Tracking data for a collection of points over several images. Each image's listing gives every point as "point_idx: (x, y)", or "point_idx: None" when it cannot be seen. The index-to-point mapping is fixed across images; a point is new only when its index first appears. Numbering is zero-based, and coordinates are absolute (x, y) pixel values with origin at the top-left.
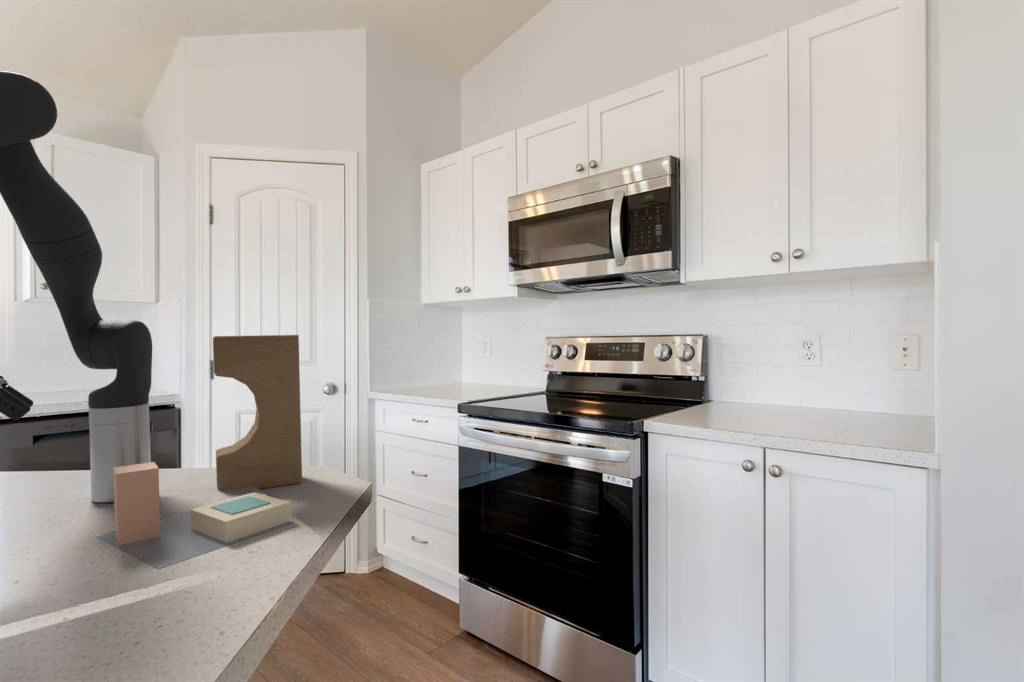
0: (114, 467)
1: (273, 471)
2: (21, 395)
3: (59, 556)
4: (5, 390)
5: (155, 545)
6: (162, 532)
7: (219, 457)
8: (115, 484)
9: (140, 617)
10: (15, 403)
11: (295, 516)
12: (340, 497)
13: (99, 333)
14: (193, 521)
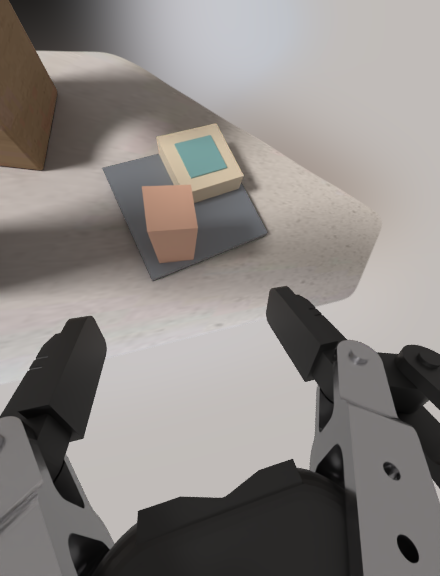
0: (147, 230)
1: (39, 96)
2: (78, 348)
3: (172, 305)
4: (330, 335)
5: (212, 233)
6: None
7: (1, 121)
8: (184, 236)
9: (320, 245)
10: (314, 309)
11: None
12: (148, 87)
13: None
14: None
